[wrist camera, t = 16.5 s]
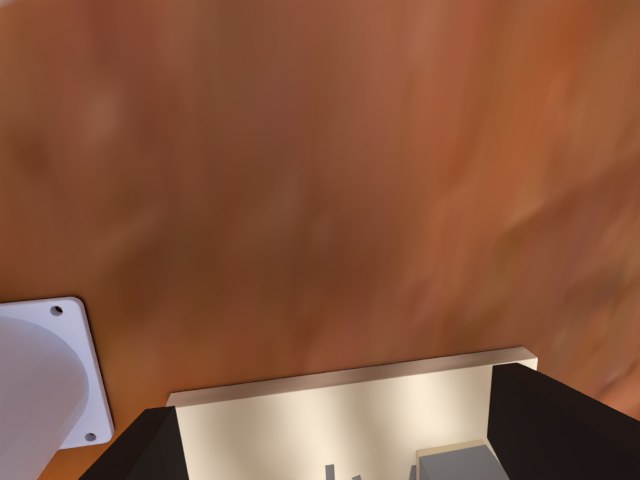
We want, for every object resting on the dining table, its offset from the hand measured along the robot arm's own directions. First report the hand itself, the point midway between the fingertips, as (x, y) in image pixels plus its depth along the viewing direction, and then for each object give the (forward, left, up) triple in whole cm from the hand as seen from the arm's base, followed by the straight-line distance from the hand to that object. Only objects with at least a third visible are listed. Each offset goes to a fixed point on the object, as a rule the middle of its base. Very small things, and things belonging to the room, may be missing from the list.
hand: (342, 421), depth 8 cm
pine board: (+3, -16, -10) cm, 19 cm away
